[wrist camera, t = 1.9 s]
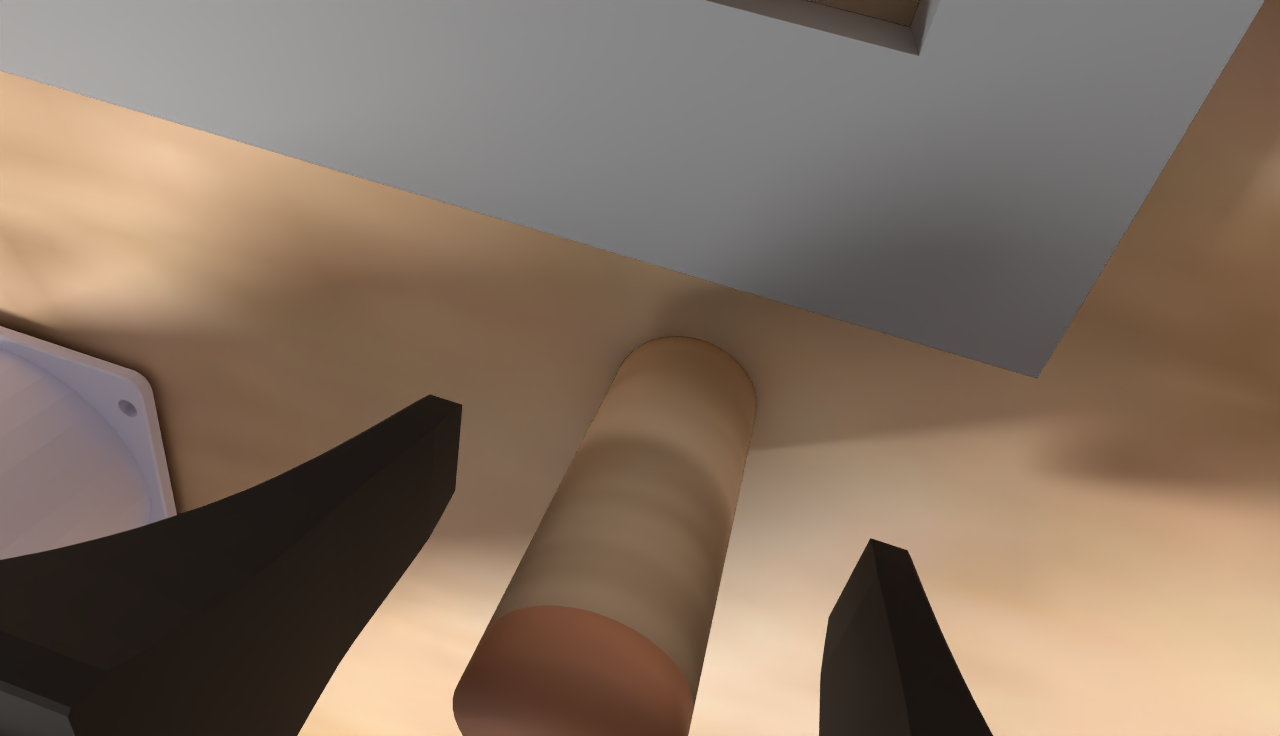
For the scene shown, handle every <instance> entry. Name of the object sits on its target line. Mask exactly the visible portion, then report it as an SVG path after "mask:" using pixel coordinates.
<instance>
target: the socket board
mask: <svg viewBox="0 0 1280 736" xmlns="http://www.w3.org/2000/svg"><path fill="white" fill-rule="evenodd" d="M1264 1H1265V0H920V2H919V5H918V7H917V10H916V13H915V15H914V18H913V21H912V24H911V26H910V27H907V26H903V25H899V24H895V23H891V22H887V21H884V20H880V19H876V18H872V17H868V16H864V15H860V14H856V13H853V12H849V11H845V10H841V9H837V8H833V7H829V6H825V5H822V4H818V3H814V2H810V1H806V0H0V71H3V72H6V73H10V74H13V75H16V76H20V77H23V78H26V79H30V80H33V81H37V82H40V83H43V84H47V85H50V86H53V87H57V88H60V89H64V90H67V91H70V92H74V93H77V94H80V95H84V96H87V97H90V98H94V99H97V100H101V101H104V102H107V103H111V104H114V105H117V106H121V107H124V108H128V109H131V110H134V111H138V112H141V113H144V114H148V115H151V116H154V117H158V118H161V119H165V120H168V121H171V122H175V123H178V124H181V125H185V126H188V127H191V128H195V129H198V130H202V131H205V132H208V133H212V134H215V135H218V136H222V137H225V138H229V139H232V140H235V141H239V142H242V143H245V144H249V145H252V146H255V147H259V148H262V149H266V150H269V151H272V152H276V153H279V154H282V155H286V156H289V157H293V158H296V159H299V160H303V161H306V162H309V163H313V164H316V165H319V166H323V167H326V168H330V169H333V170H336V171H340V172H343V173H346V174H350V175H353V176H356V177H360V178H363V179H367V180H370V181H373V182H377V183H380V184H383V185H387V186H390V187H394V188H397V189H400V190H404V191H407V192H410V193H414V194H417V195H420V196H424V197H427V198H431V199H434V200H437V201H441V202H444V203H447V204H451V205H454V206H458V207H461V208H464V209H468V210H471V211H474V212H478V213H481V214H484V215H488V216H491V217H495V218H498V219H501V220H505V221H508V222H511V223H515V224H518V225H521V226H525V227H528V228H532V229H535V230H538V231H542V232H545V233H548V234H552V235H555V236H559V237H562V238H565V239H569V240H572V241H575V242H579V243H582V244H585V245H589V246H592V247H596V248H599V249H602V250H606V251H609V252H612V253H616V254H619V255H623V256H626V257H629V258H633V259H636V260H639V261H643V262H646V263H649V264H653V265H656V266H660V267H663V268H666V269H670V270H673V271H676V272H680V273H683V274H686V275H690V276H693V277H697V278H700V279H703V280H707V281H710V282H713V283H717V284H720V285H724V286H727V287H730V288H734V289H737V290H740V291H744V292H747V293H750V294H754V295H757V296H761V297H764V298H767V299H771V300H774V301H777V302H781V303H784V304H788V305H791V306H794V307H798V308H801V309H804V310H808V311H811V312H814V313H818V314H821V315H825V316H828V317H831V318H835V319H838V320H841V321H845V322H848V323H851V324H855V325H858V326H862V327H865V328H868V329H872V330H875V331H878V332H882V333H885V334H889V335H892V336H895V337H899V338H902V339H905V340H909V341H912V342H915V343H919V344H922V345H926V346H929V347H932V348H936V349H939V350H942V351H946V352H949V353H953V354H956V355H959V356H963V357H966V358H969V359H973V360H976V361H979V362H983V363H986V364H990V365H993V366H996V367H1000V368H1003V369H1006V370H1010V371H1013V372H1016V373H1020V374H1023V375H1027V376H1030V377H1033V378H1038V376H1039V374H1040V373H1041V371H1042V369H1043V368H1044V366H1045V364H1046V363H1047V361H1048V359H1049V358H1050V356H1051V354H1052V353H1053V351H1054V349H1055V348H1056V346H1057V345H1058V343H1059V341H1060V340H1061V338H1062V336H1063V335H1064V333H1065V331H1066V330H1067V328H1068V326H1069V325H1070V323H1071V321H1072V320H1073V318H1074V316H1075V315H1076V313H1077V311H1078V310H1079V308H1080V306H1081V305H1082V303H1083V301H1084V300H1085V298H1086V296H1087V295H1088V293H1089V291H1090V290H1091V288H1092V286H1093V285H1094V283H1095V281H1096V280H1097V278H1098V276H1099V275H1100V273H1101V271H1102V270H1103V268H1104V266H1105V265H1106V263H1107V261H1108V260H1109V258H1110V257H1111V255H1112V253H1113V252H1114V250H1115V248H1116V247H1117V245H1118V243H1119V242H1120V240H1121V238H1122V237H1123V235H1124V233H1125V232H1126V230H1127V228H1128V227H1129V225H1130V223H1131V222H1132V220H1133V218H1134V217H1135V215H1136V213H1137V212H1138V210H1139V208H1140V207H1141V205H1142V203H1143V202H1144V200H1145V198H1146V197H1147V195H1148V193H1149V192H1150V190H1151V188H1152V187H1153V185H1154V183H1155V182H1156V180H1157V178H1158V177H1159V175H1160V173H1161V172H1162V170H1163V168H1164V167H1165V165H1166V164H1167V162H1168V160H1169V159H1170V157H1171V155H1172V154H1173V152H1174V150H1175V149H1176V147H1177V145H1178V144H1179V142H1180V140H1181V139H1182V137H1183V135H1184V134H1185V132H1186V130H1187V129H1188V127H1189V125H1190V124H1191V122H1192V120H1193V119H1194V117H1195V115H1196V114H1197V112H1198V110H1199V109H1200V107H1201V105H1202V104H1203V102H1204V100H1205V99H1206V97H1207V95H1208V94H1209V92H1210V90H1211V89H1212V87H1213V85H1214V84H1215V82H1216V80H1217V79H1218V77H1219V75H1220V74H1221V72H1222V71H1223V69H1224V67H1225V66H1226V64H1227V62H1228V61H1229V59H1230V57H1231V56H1232V54H1233V52H1234V51H1235V49H1236V47H1237V46H1238V44H1239V42H1240V41H1241V39H1242V37H1243V36H1244V34H1245V32H1246V31H1247V29H1248V27H1249V26H1250V24H1251V22H1252V21H1253V19H1254V17H1255V16H1256V14H1257V12H1258V11H1259V9H1260V7H1261V6H1262V4H1263V2H1264Z"/></svg>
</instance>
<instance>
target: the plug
mask: <svg viewBox="0 0 1280 736" xmlns="http://www.w3.org/2000/svg"><path fill="white" fill-rule="evenodd" d="M755 414H756V396H755V392H754V388H753V386H752V383H751V381H750V379H749V377H748V375H747V374H746V372H745V371H744V369H743V368H742V367H741V366H740V365H739V363H738V362H737V361H736V360H735V359H733V358H732V357H731V356H730V355H729V354H727V353H726V352H724V351H723V350H721V349H720V348H718V347H716V346H714V345H712V344H709V343H707V342H704V341H701V340H697V339H693V338H687V337H666V338H660V339H656V340H653V341H650V342H648V343H645V344H643V345H642V346H640V347H638V348H637V349H635V350H634V351H633V352H632V353H631V354H630V355H629V356H628V357H627V358H626V359H625V360H624V362H623V363H622V365H621V367H620V369H619V370H618V372H617V374H616V376H615V378H614V380H613V382H612V384H611V386H610V388H609V390H608V392H607V394H606V396H605V398H604V400H603V402H602V404H601V406H600V408H599V410H598V411H597V413H596V415H595V417H594V419H593V421H592V423H591V425H590V427H589V429H588V431H587V433H586V435H585V437H584V439H583V441H582V443H581V445H580V447H579V449H578V451H577V452H576V454H575V456H574V458H573V460H572V462H571V464H570V466H569V468H568V470H567V472H566V474H565V476H564V478H563V480H562V482H561V484H560V486H559V488H558V490H557V492H556V494H555V495H554V497H553V499H552V501H551V503H550V505H549V507H548V509H547V511H546V513H545V515H544V517H543V519H542V521H541V523H540V525H539V527H538V529H537V531H536V533H535V535H534V536H533V538H532V540H531V542H530V544H529V546H528V548H527V550H526V552H525V554H524V556H523V558H522V560H521V562H520V564H519V566H518V568H517V570H516V572H515V574H514V576H513V577H512V579H511V581H510V583H509V585H508V587H507V589H506V591H505V593H504V595H503V597H502V599H501V601H500V603H499V605H498V607H497V609H496V611H495V613H494V615H493V617H492V619H491V620H490V622H489V624H488V626H487V628H486V630H485V632H484V634H483V636H482V638H481V640H480V642H479V644H478V646H477V648H476V650H475V652H474V654H473V656H472V658H471V660H470V661H469V663H468V665H467V667H466V669H465V671H464V673H463V675H462V677H461V679H460V681H459V683H458V685H457V687H456V689H455V692H454V696H453V712H454V717H455V720H456V722H457V725H458V727H459V729H460V731H461V733H462V735H463V736H688V734H689V729H690V724H691V719H692V715H693V710H694V705H695V700H696V695H697V691H698V686H699V681H700V676H701V672H702V667H703V662H704V657H705V653H706V648H707V643H708V638H709V633H710V629H711V624H712V619H713V614H714V610H715V605H716V600H717V595H718V591H719V586H720V581H721V576H722V572H723V567H724V562H725V557H726V552H727V548H728V543H729V538H730V533H731V529H732V524H733V519H734V514H735V510H736V505H737V500H738V495H739V491H740V486H741V481H742V476H743V471H744V467H745V462H746V457H747V452H748V448H749V443H750V438H751V433H752V429H753V424H754V419H755Z"/></svg>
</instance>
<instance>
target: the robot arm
mask: <svg viewBox="0 0 1280 736" xmlns="http://www.w3.org/2000/svg"><path fill="white" fill-rule="evenodd" d="M461 414H462V405H461V404H458V403H455V402H451V401H448V400H445V399H442V398H439V397H436V396H433V395H428V396H426V397H424V398H422V399H420V400H419V401H417V402H415V403H413V404H411V405H410V406H408V407H406V408H404V409H403V410H401V411H399V412H397V413H396V414H394V415H392V416H391V417H389V418H387V419H385V420H384V421H382V422H380V423H378V424H377V425H375V426H373V427H371V428H370V429H368V430H366V431H364V432H362V433H361V434H359V435H357V436H355V437H353V438H351V439H350V440H348V441H346V442H344V443H342V444H340V445H339V446H337V447H335V448H333V449H331V450H329V451H327V452H326V453H324V454H322V455H320V456H318V457H316V458H314V459H312V460H310V461H308V462H306V463H303V464H301V465H299V466H297V467H295V468H293V469H291V470H289V471H287V472H285V473H283V474H281V475H279V476H277V477H275V478H272V479H270V480H268V481H266V482H263V483H261V484H259V485H257V486H254V487H252V488H250V489H247V490H245V491H242V492H240V493H237V494H235V495H232V496H229V497H227V498H224V499H222V500H219V501H217V502H214V503H211V504H208V505H206V506H203V507H200V508H197V509H194V510H191V511H188V512H185V513H182V514H179V515H177V513H176V508H175V503H174V497H173V492H172V487H171V482H170V477H169V472H168V467H167V462H166V457H165V452H164V447H163V442H162V437H161V432H160V427H159V422H158V417H157V411H156V406H155V401H154V396H153V391H152V388H151V385H150V383H149V382H148V381H147V379H146V378H145V377H144V376H142V375H141V374H140V373H138V372H136V371H134V370H131V369H128V368H125V367H122V366H119V365H116V364H113V363H110V362H107V361H104V360H101V359H98V358H95V357H92V356H89V355H86V354H83V353H80V352H77V351H74V350H71V349H68V348H65V347H62V346H59V345H56V344H53V343H50V342H47V341H44V340H41V339H38V338H35V337H32V336H29V335H26V334H23V333H20V332H17V331H14V330H11V329H8V328H5V327H2V326H0V736H297V735H298V733H299V732H300V730H301V728H302V726H303V725H304V723H305V721H306V719H307V718H308V716H309V714H310V712H311V711H312V709H313V707H314V705H315V704H316V702H317V700H318V699H319V697H320V695H321V694H322V692H323V690H324V689H325V687H326V685H327V683H328V682H329V680H330V678H331V677H332V675H333V673H334V672H335V670H336V668H337V666H338V665H339V663H340V662H341V660H342V659H343V657H344V656H345V654H346V653H347V651H348V650H349V648H350V647H351V645H352V644H353V642H354V641H355V639H356V638H357V637H358V635H359V634H360V632H361V631H362V630H363V628H364V627H365V626H366V624H367V623H368V622H369V620H370V619H371V617H372V616H373V615H374V613H375V612H376V611H377V609H378V608H379V606H380V605H381V604H382V602H383V601H384V600H385V598H386V597H387V596H388V594H389V593H390V591H391V590H392V589H393V587H394V586H395V585H396V583H397V582H398V581H399V579H400V578H401V576H402V575H403V574H404V572H405V571H406V570H407V568H408V567H409V565H410V564H411V563H412V561H413V560H414V558H415V557H416V556H417V554H418V553H419V552H420V550H421V549H422V547H423V546H424V544H425V543H426V542H427V540H428V539H429V537H430V535H431V533H432V532H433V530H434V528H435V526H436V525H437V523H438V521H439V519H440V518H441V516H442V514H443V512H444V510H445V508H446V506H447V505H448V503H449V501H450V499H451V497H452V495H453V493H454V491H455V485H456V473H457V461H458V450H459V438H460V426H461ZM819 736H993V735H992V733H991V731H990V729H989V727H988V725H987V724H986V722H985V720H984V718H983V716H982V714H981V712H980V710H979V708H978V707H977V705H976V703H975V701H974V699H973V697H972V695H971V693H970V691H969V689H968V687H967V685H966V683H965V681H964V679H963V677H962V675H961V673H960V670H959V668H958V666H957V664H956V662H955V660H954V658H953V655H952V653H951V651H950V649H949V647H948V645H947V643H946V640H945V638H944V636H943V634H942V631H941V629H940V627H939V625H938V622H937V620H936V617H935V615H934V613H933V610H932V608H931V606H930V603H929V601H928V598H927V596H926V594H925V591H924V589H923V586H922V584H921V581H920V579H919V576H918V574H917V571H916V569H915V566H914V564H913V561H912V559H911V557H910V555H909V553H908V551H907V550H905V549H902V548H898V547H895V546H892V545H889V544H886V543H883V542H880V541H877V540H874V539H871V538H870V540H869V542H868V544H867V546H866V548H865V550H864V552H863V554H862V555H861V557H860V559H859V561H858V563H857V565H856V567H855V569H854V571H853V572H852V574H851V576H850V578H849V580H848V582H847V584H846V586H845V588H844V589H843V591H842V593H841V595H840V597H839V599H838V601H837V603H836V605H835V606H834V608H833V610H832V612H831V614H830V616H829V620H828V626H827V633H826V639H825V646H824V653H823V661H822V668H821V679H820V721H819Z"/></svg>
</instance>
